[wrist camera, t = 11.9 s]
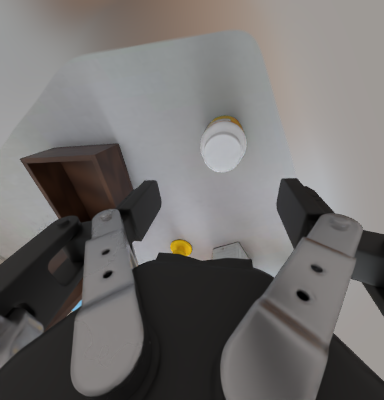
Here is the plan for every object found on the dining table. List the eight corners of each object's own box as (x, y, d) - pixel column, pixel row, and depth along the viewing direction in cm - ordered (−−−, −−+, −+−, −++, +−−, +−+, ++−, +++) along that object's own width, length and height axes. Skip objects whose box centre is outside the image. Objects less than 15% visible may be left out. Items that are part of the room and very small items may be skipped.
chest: (53, 147, 31) (19, 158, 26) (118, 143, 29) (94, 154, 24) (92, 221, 41) (72, 240, 35) (144, 222, 38) (131, 243, 33)
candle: (196, 250, 40) (182, 326, 27) (180, 257, 42) (159, 329, 29) (182, 236, 38) (160, 310, 25) (166, 243, 40) (138, 315, 28)
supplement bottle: (243, 149, 26) (251, 175, 18) (208, 155, 27) (201, 181, 19) (240, 110, 23) (248, 120, 15) (202, 119, 25) (191, 132, 16)
